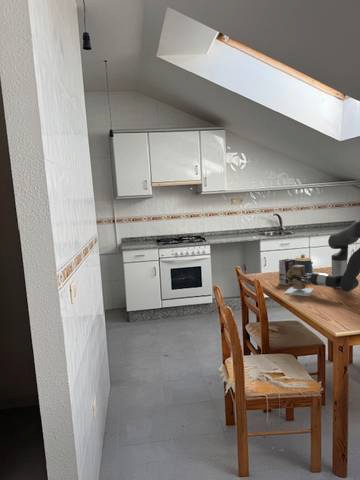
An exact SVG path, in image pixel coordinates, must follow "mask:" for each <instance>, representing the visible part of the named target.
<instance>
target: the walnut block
mask: <svg viewBox="0 0 360 480" xmlns="http://www.w3.org/2000/svg"><path fill="white" fill-rule="evenodd" d="M293 275H299V276H302V275H305V266H304V265H295V266H293ZM303 277H304V276H303ZM292 287H293V289H298V290H302V289H305V288H306V281H305V282H301V281H297V279H293V284H292Z"/></svg>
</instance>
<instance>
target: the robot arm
mask: <svg viewBox="0 0 360 480" xmlns="http://www.w3.org/2000/svg"><path fill="white" fill-rule="evenodd" d="M359 239H360V219H356V220H355V221H353V223H352V224H351V225H349V226H348V227H345V228H344V229H342V230H340V231H338V232H337V233H334V234H331V235H329V237H328V240H327V241H328V242H327V243H328V246H329V248H331V249H332V250H339V251H337V252H335V253H333V254H332V255H331V274H328V273H325V272H323V273H322V272H317V271H316V272H315V271H314V272H313V273H312V274H311V273H306V274H305V275H302V276H299V275H292V278H293V279H297V281H301V282H305V283H306V282H307V283H311V285H313V286H318V287H322V288H323V287H324V288H325V287H328V288H332V289H333V288H334V289H335V288H336V289H341V290H342V291H344V292H351V291H353V290H354V289H356V288H357V287H358V286H359V282H360V281H359V280H358V278H357V277H358V276H359V275H360V247H359V248H357V249H356V251H354V252H353V253H352V254H351V255H350V257H349V259H348V255H349V245H353V244H355V243H357V242H358V241H359ZM303 276H304V277H303Z"/></svg>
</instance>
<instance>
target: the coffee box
mask: <svg viewBox="0 0 360 480" xmlns="http://www.w3.org/2000/svg"><path fill="white" fill-rule="evenodd" d="M294 259H295V258H294ZM294 259H292V258H286V259H279V260H278V284H279V285H283V286H290V285H293V278H292V275H293V266H295V260H294Z"/></svg>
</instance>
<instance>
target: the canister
mask: <svg viewBox="0 0 360 480" xmlns="http://www.w3.org/2000/svg"><path fill="white" fill-rule="evenodd" d="M294 260H295V265H304V266H305V274H306V273H311V274H312V273H314V272H313V271H314V270H313V269H314V267H313V264H314V262H313V261H312V260H313V259H312V258H311V257H310V256H306V255H305V254H303V253H302V254H301V255H300V256H297V257H295V258H294Z"/></svg>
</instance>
